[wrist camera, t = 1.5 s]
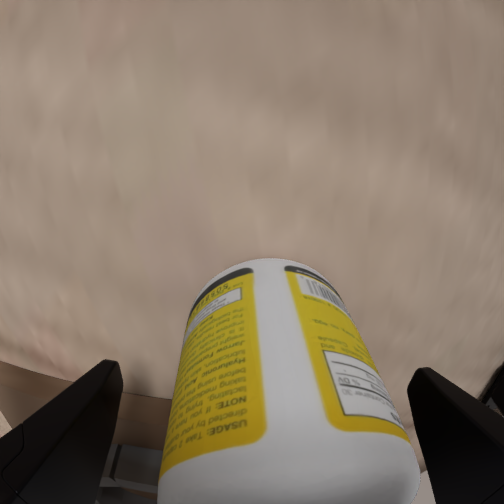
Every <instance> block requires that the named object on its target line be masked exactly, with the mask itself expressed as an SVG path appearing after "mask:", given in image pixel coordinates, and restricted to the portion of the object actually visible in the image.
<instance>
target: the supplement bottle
mask: <svg viewBox="0 0 504 504" xmlns="http://www.w3.org/2000/svg"><path fill="white" fill-rule="evenodd" d="M419 485H420V469H419V465H418V462H417V459H416V456H415V453H414V450H413V447H412V445H411V443H410V440H409V438H408V436H407V434H406V431H405V429H404V427H403V425H402V423H401V421H400V418H399V416H398V414H397V411H396V410H395V407H394V405H393V403H392V401H391V398H390V396H389V394H388V392H387V390H386V388H385V386H384V383H383V381H382V379H381V377H380V375H379V373H378V371H377V369H376V367H375V365H374V362H373V360H372V358H371V356H370V354H369V352H368V350H367V348H366V346H365V344H364V342H363V340H362V338H361V336H360V334H359V332H358V330H357V328H356V326H355V324H354V322H353V320H352V319H351V316H350V314H349V313H348V311H347V309H346V307H345V305H344V303H343V301H342V300H341V298H340V296H339V295H338V293H337V292H336V290H335V289H334V287H333V286H332V285H331V283H330V282H329V281H328V280H327V279H326V278H325V277H323V276H322V275H321V274H320V273H318V272H317V271H315V270H314V269H312V268H310V267H308V266H306V265H304V264H301V263H298V262H295V261H291V260H286V259H278V258H264V259H256V260H250V261H246V262H242V263H239V264H237V265H234V266H232V267H230V268H228V269H226V270H224V271H223V272H221V273H219V274H218V275H216V276H215V277H214V278H212V279H211V280H210V281H209V282H208V283H207V284H206V285H205V286H204V287H203V289H202V290H201V291H200V293H199V294H198V296H197V297H196V299H195V301H194V303H193V306H192V308H191V311H190V314H189V318H188V322H187V327H186V331H185V336H184V341H183V347H182V352H181V358H180V363H179V368H178V374H177V378H176V384H175V390H174V395H173V399H172V406H171V412H170V417H169V423H168V429H167V434H166V439H165V445H164V450H163V457H162V463H161V468H160V474H159V481H158V496H157V504H411V503H412V501H413V500H414V498H415V496H416V494H417V491H418V488H419Z"/></svg>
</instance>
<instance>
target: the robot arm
mask: <svg viewBox="0 0 504 504" xmlns="http://www.w3.org/2000/svg"><path fill="white" fill-rule="evenodd" d="M122 391H123V379H122V375H121V370H120V366H119V363H118V362H117V361H113V360H107V359H105V360H103V361H101V362H100V363H99V364H97V365H96V366H95V367H93V368H92V369H91V370H89V371H88V372H87V373H85V374H84V375H83V376H82V377H80V378H79V379H78V380H76V381H75V382H74V383H72V384H71V385H70V386H68V387H67V388H66V389H65V390H63V391H62V392H61V393H59V394H58V395H57V396H55V397H54V398H53V399H51V400H50V401H49V402H48V403H46V404H45V405H44V406H42V407H41V408H40V409H38V410H37V411H36V412H35V413H33V414H32V415H31V416H29V417H28V418H27V419H25V420H24V421H23V424H22V423H20V424H19V425H17V426H16V427H15V428H14V429H12V430H11V431H9V432H8V433H7V434H5V435H4V436H3V437H1V438H0V504H95V501H96V497H97V494H98V490H99V486H100V482H101V478H102V475H103V471H104V467H105V464H106V460H107V457H108V453H109V450H110V447H111V443H112V440H113V436H114V433H115V428H116V423H117V417H118V411H119V406H120V401H121V396H122ZM407 394H408V398H409V403H410V407H411V412H412V416H413V421H414V426H415V430H416V434H417V437H418V440H419V444H420V447H421V450H422V454H423V457H424V460H425V464H426V467H427V471H428V475H429V478H430V482H431V486H432V489H433V494H434V497H435V502H436V504H504V368H503V370H502V372H501V373H500V375H499V377H498V378H497V380H496V381H495V383H494V384H493V386H492V388H491V389H490V391H489V392H488V394H487V395H486V397H485V398H484V400H483V401H482V402H480V401H479V400H477V399H476V398H474V397H473V396H471V395H470V394H468V393H467V392H465V391H464V390H462V389H461V388H459V387H458V386H456V385H455V384H453V383H452V382H450V381H449V380H447V379H446V378H444V377H443V376H441V375H440V374H439V373H437V372H436V371H434V370H433V369H431V368H429V367H423V368H418V369H417V370H416V371H415V373H414V375H413V377H412V379H411V381H410V383H409V385H408V388H407ZM496 408H498V409H499V410H500V412H501V413H502V415H503V416H501V415H500V414H498V413H497V412H495V411H494V410H493V409H496Z"/></svg>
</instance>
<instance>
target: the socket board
mask: <svg viewBox="0 0 504 504" xmlns="http://www.w3.org/2000/svg"><path fill="white" fill-rule="evenodd" d="M72 383H74V382H70V381H66V380H62V379H58V378H54V377H50V376H47V375H43V374H40V373H36V372H33V371H29V370H26V369H23V368H20V367H17V366H13V365H10V364H7V363H5V362H2V361H0V411H1V412H2V414H3V415H4V417H5V418H6V420H7V422H8V423H9V425H10V426H11V428H12V429H14V428H15V427H16V426H17V425H19V424H20V423H22V424H23V421H24V420H25V419H27V418H28V417H29V416H31V415H32V414H33V413H35V412H36V411H37V410H38V409H40V408H41V407H42V406H44V405H45V404H46V403H48V402H49V401H50V400H51V399H53V398H54V397H55V396H57V395H58V394H59V393H61V392H62V391H63V390H65V389H66V388H67V387H68V386H70V385H71V384H72ZM171 406H172V400H170V399H162V398H154V397H147V396H141V395H134V394H128V393H122V396H121V401H120V406H119V411H118V417H117V423H116V428H115V433H114V436H113V440H112V443H111V447H110V450H109V453H108V457H107V460H106V464H105V467H104V471H103V475H102V478H101V482H100V486H99V490H98V494H97V497H96V501H95V504H157V496H158V481H159V474H160V468H161V463H162V457H163V450H164V445H165V439H166V434H167V429H168V423H169V417H170V412H171Z"/></svg>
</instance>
